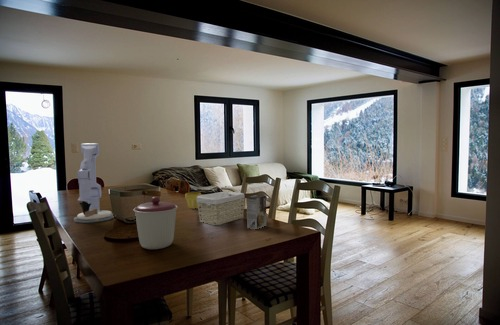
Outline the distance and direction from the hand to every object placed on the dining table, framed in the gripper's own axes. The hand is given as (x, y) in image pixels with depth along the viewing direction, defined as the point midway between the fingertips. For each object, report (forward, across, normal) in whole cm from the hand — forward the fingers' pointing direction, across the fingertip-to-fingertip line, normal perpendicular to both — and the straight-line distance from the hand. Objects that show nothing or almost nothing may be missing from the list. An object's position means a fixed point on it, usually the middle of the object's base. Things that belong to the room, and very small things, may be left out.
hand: (86, 214), depth 187 cm
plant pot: (+4, +17, +63) cm, 65 cm away
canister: (+3, +71, +2) cm, 71 cm away
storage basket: (+3, +57, +52) cm, 77 cm away
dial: (+2, -2, +6) cm, 6 cm away
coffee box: (+3, +83, +53) cm, 98 cm away
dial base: (+4, -2, +6) cm, 7 cm away
